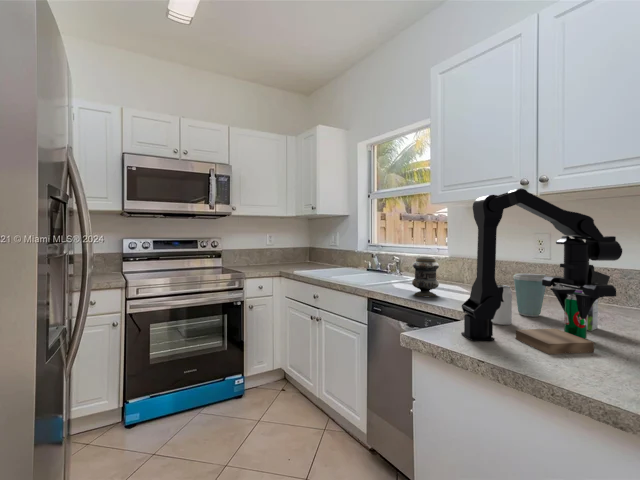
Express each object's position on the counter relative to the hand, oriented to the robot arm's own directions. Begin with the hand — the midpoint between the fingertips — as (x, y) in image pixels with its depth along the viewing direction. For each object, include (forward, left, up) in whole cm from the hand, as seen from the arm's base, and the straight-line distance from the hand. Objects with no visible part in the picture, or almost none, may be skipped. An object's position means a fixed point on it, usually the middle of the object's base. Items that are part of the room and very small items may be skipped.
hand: (575, 316), depth 95 cm
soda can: (0, 0, -6) cm, 6 cm away
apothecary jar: (-16, +66, -6) cm, 68 cm away
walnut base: (-11, -5, -6) cm, 14 cm away
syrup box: (+11, +9, -6) cm, 15 cm away
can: (-11, +17, -6) cm, 21 cm away
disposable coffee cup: (+6, +26, -6) cm, 27 cm away
